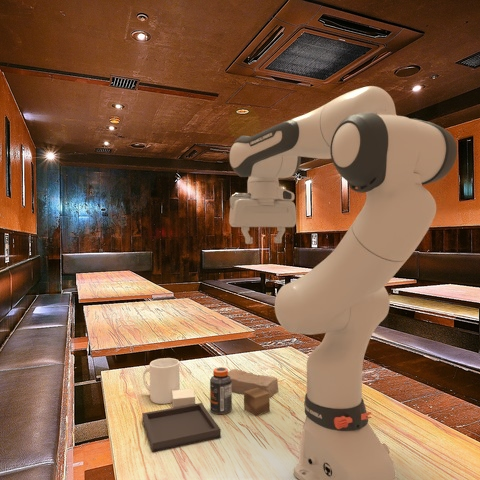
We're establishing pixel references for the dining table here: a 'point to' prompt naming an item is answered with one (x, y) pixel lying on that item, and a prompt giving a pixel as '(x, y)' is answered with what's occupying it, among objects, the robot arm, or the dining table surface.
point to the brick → (252, 382)
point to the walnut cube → (256, 401)
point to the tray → (179, 426)
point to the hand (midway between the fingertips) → (263, 243)
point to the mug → (163, 379)
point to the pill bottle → (220, 391)
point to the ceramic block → (183, 397)
